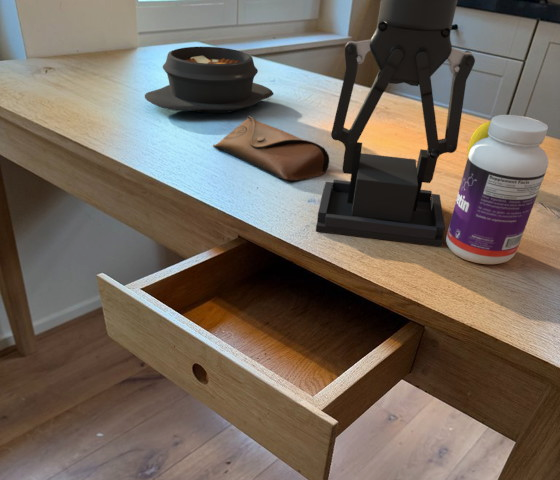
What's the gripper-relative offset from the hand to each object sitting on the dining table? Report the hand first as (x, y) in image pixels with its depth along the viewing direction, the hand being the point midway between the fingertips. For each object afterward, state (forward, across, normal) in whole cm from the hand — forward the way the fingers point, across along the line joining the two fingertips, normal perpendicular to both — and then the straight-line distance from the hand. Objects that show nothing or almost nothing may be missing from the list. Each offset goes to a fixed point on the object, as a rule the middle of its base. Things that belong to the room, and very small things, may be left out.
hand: (381, 202), depth 70 cm
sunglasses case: (+2, -17, +16) cm, 24 cm away
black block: (0, 0, 0) cm, 0 cm away
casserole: (+2, -32, +41) cm, 52 cm away
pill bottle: (+2, +12, -6) cm, 13 cm away
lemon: (+2, +15, +20) cm, 25 cm away
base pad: (+2, 0, 0) cm, 2 cm away
